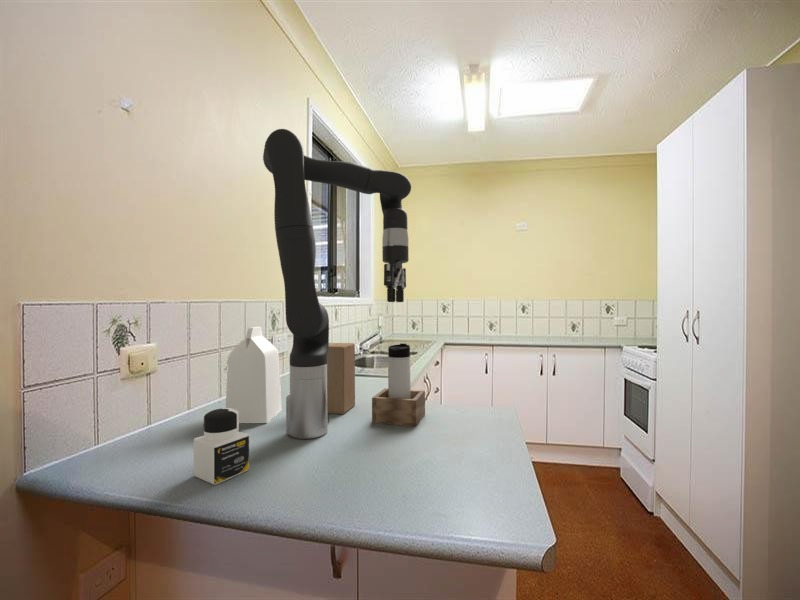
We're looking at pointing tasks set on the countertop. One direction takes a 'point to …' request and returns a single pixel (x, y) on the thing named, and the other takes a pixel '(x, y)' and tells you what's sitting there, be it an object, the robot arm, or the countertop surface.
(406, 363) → the travel mug
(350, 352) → the wooden block
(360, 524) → the countertop surface
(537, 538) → the countertop surface
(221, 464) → the medicine bottle
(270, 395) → the milk
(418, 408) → the open wooden box
